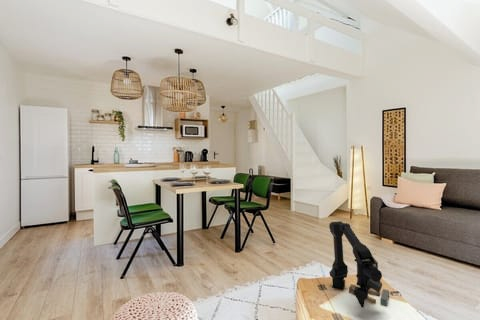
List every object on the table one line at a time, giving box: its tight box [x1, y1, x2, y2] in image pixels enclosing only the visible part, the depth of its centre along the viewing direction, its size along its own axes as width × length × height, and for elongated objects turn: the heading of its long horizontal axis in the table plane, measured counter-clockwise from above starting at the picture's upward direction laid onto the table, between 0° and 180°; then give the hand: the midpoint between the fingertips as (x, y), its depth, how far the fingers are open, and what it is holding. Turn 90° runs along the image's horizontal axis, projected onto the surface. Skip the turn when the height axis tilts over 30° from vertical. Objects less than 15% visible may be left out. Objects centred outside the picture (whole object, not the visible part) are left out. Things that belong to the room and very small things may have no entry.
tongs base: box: [348, 283, 381, 298], centre depth 146 cm, size 15×7×2 cm, turn 55°
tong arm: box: [348, 285, 377, 305], centre depth 142 cm, size 15×2×4 cm, turn 33°
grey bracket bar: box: [380, 288, 390, 307], centre depth 139 cm, size 3×12×3 cm, turn 145°
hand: (363, 303), depth 132 cm, fingers open, 9 cm apart
